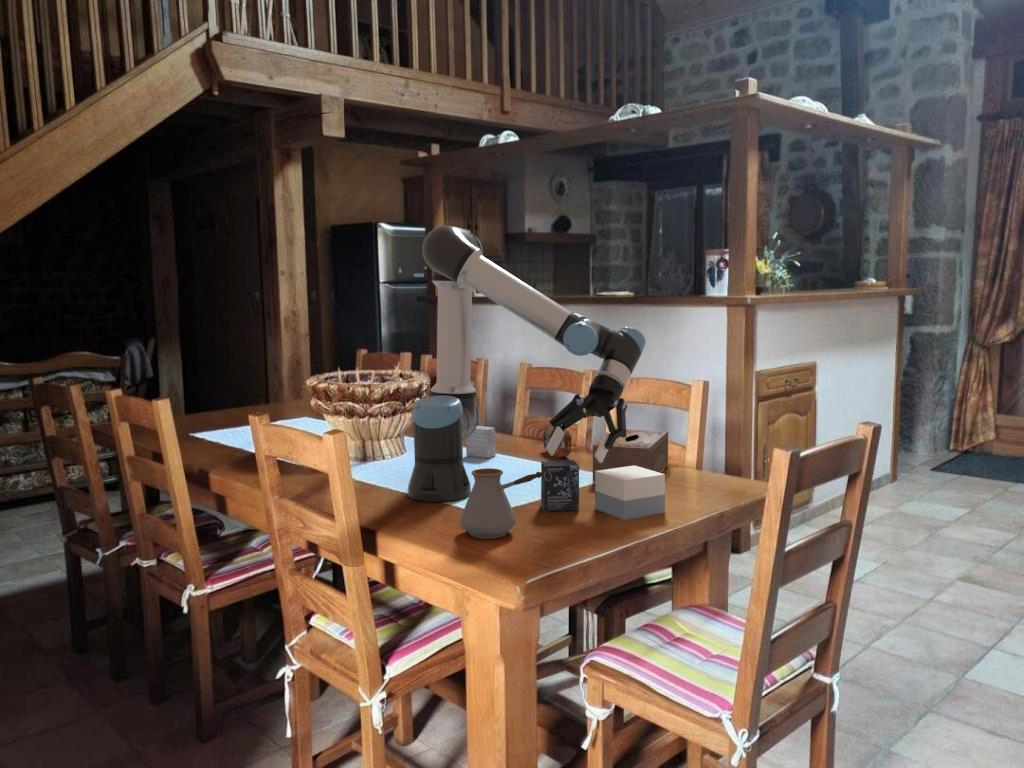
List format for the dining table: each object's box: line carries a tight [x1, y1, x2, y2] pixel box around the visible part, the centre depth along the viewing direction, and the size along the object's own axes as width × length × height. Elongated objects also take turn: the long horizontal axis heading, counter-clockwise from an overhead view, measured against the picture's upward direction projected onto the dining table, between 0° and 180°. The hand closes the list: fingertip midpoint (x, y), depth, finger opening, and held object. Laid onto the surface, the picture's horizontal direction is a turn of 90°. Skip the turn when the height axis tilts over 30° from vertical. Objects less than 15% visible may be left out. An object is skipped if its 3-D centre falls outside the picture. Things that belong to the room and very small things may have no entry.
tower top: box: [594, 465, 666, 501], centre depth 186 cm, size 11×11×4 cm
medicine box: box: [465, 425, 497, 459], centre depth 249 cm, size 8×4×9 cm, turn 58°
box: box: [540, 459, 580, 513], centre depth 189 cm, size 8×6×11 cm
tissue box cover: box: [592, 428, 669, 483], centre depth 223 cm, size 26×14×10 cm, turn 159°
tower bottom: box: [594, 491, 666, 521], centre depth 187 cm, size 11×11×4 cm
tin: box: [542, 425, 572, 458], centre depth 249 cm, size 15×3×8 cm, turn 22°
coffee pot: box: [459, 467, 552, 539], centre depth 167 cm, size 21×12×15 cm, turn 52°
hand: (573, 456), depth 190 cm, fingers open, 13 cm apart
